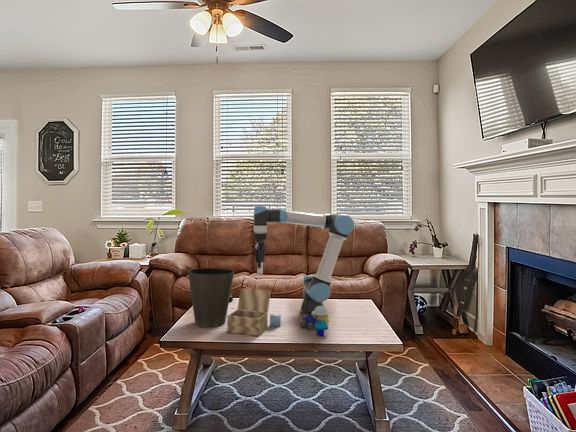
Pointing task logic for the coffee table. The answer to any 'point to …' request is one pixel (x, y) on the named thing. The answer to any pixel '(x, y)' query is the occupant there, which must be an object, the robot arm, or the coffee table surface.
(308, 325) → the toy
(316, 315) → the toy
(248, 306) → the lid
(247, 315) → the box
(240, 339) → the coffee table surface
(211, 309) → the waste basket
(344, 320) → the coffee table surface
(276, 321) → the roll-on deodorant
